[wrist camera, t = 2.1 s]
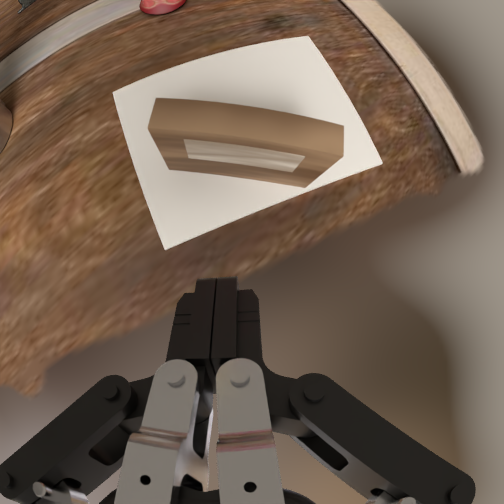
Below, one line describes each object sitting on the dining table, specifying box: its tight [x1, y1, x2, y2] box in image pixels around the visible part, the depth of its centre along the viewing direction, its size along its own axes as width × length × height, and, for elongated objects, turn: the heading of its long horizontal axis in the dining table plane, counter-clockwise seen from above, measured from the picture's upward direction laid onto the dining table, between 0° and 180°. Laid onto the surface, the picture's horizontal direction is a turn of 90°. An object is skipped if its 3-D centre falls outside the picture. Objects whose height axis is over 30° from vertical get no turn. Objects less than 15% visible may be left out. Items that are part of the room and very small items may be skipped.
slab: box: [147, 98, 344, 188], centre depth 24 cm, size 3×14×10 cm, turn 83°
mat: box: [112, 36, 383, 250], centre depth 29 cm, size 20×26×1 cm
